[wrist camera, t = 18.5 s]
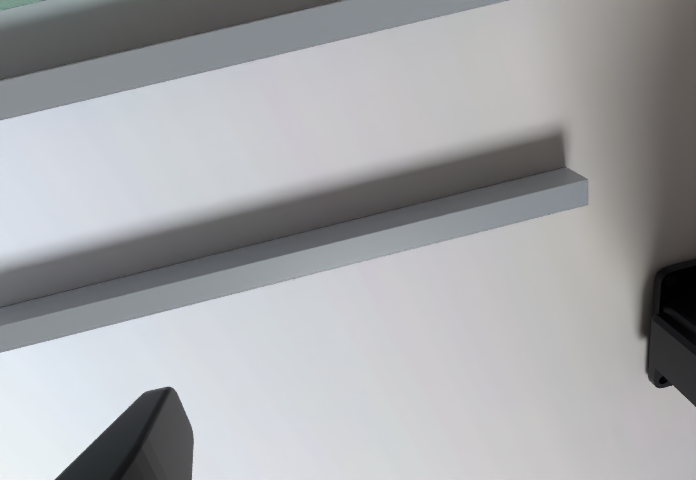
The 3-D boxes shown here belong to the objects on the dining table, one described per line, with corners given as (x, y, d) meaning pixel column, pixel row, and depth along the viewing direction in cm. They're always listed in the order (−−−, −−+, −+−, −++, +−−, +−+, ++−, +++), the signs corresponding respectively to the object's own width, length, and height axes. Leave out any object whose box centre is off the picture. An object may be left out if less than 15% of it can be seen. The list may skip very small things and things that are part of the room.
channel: (561, -52, 16) (587, -56, 15) (566, 191, 20) (587, 204, 19) (-131, 110, 16) (-168, 120, 14) (6, 331, 19) (-15, 356, 18)
